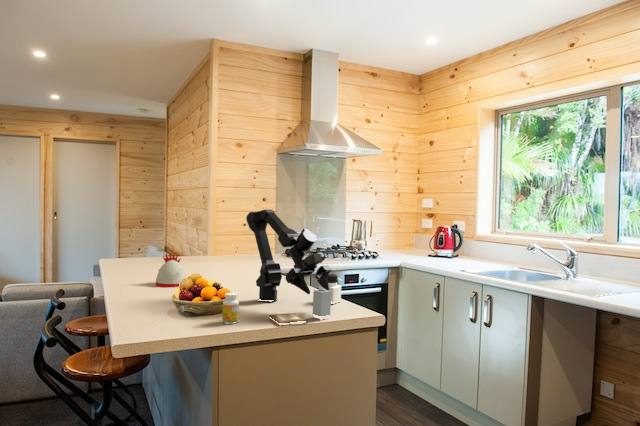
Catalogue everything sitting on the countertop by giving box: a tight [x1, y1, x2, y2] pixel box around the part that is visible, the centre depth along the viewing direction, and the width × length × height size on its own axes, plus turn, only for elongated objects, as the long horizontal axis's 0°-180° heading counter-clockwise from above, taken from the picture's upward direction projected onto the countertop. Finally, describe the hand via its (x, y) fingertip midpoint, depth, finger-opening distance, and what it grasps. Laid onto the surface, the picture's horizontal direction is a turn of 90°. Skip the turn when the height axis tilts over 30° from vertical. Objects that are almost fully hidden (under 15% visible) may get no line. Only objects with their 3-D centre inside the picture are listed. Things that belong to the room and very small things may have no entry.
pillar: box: [312, 288, 331, 316], centre depth 168 cm, size 4×4×11 cm
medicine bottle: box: [318, 273, 342, 302], centre depth 196 cm, size 7×7×12 cm
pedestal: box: [268, 312, 308, 323], centre depth 162 cm, size 10×10×2 cm
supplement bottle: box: [221, 292, 240, 324], centre depth 157 cm, size 5×5×10 cm
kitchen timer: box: [155, 253, 187, 288], centre depth 221 cm, size 14×14×15 cm
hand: (319, 292), depth 170 cm, fingers open, 9 cm apart
